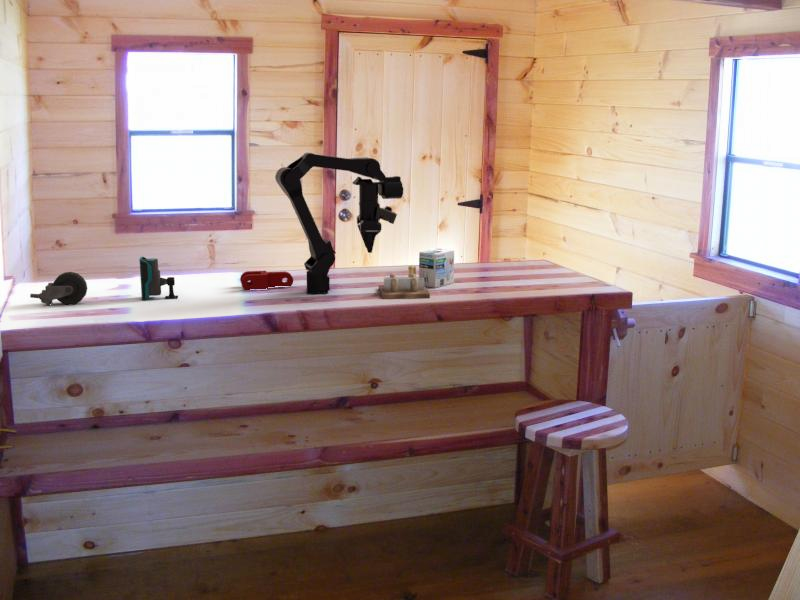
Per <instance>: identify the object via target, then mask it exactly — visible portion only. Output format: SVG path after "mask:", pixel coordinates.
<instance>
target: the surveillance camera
mask: <svg viewBox="0 0 800 600" xmlns="http://www.w3.org/2000/svg"><path fill="white" fill-rule="evenodd" d="M139 272H140V274H139V275H140V290H141V291H140V292H141V301H146V300H147V299H150V297H152V296H153V297H155V296H161V294H162V286H166V285H167V286H168V288H169V289H168V290H169V293H168V295H165V296H164V300H178V298H179V295H175V292H174V286H175V284H176V283H175V282H176V281H175V277H173V276H172V277H171V276H169V277H167V278H164V277H161V271H160V270H159V259H158V258H146V257H145V256H141V257H140V258H139Z"/></svg>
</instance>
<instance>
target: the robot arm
mask: <svg viewBox="0 0 800 600" xmlns="http://www.w3.org/2000/svg"><path fill="white" fill-rule="evenodd" d="M314 167H315V168H320V169H321V168H323V169H330V170H337V171H344V172H345V171H347V172H350V173H353V174H356V175H359V176H357V177H356V178H355V179H354V180H353V181H352V185H354V186H355V185H356V186H358V188H359V191H358V192H359V198H358V201H359V202H358V207H359V209H358V211H359V213H358V215H357V216H356V224H357V228H358V231H359V233H360V236H361V238H362V241H363V243H364V246H365V248H366V250H367V253H369V254H372V253H373V248H374V244H375V239H376V237H377V236H378V234H379V233H381V231H382V223H381V222H380V220H383V221H386V222H388V223H389V224H393V225H394V223H395V221H396V218H397V215H398V214H397V213H396V212H394V211H393V209H392V207H391V206H387V205H386V206H385V207H380V206H381V205H380V203H379V196H380V197H381V199H383V200H389V199H391V200H392V199H393V200H394V199H402V198H403V195H404V185H403V182H402V178H401V176H398V175H394V176H386V175H385V173H384V172H383V171H382V169H381V164H380V162H379V161H378V160H377V159H375V158H372V157H367V156H364V157H353V158H352V157H351V158H350V157H349V158H346V157H338V156H331V155H322V154H316V153H314V152H313V153H312V152H305V153H303V155H302V156H300V157H299V158H297V159H296V160H295V161H293V162H291V163H290V164H289V165H287V166H286V167H285V166H284V167H281V168H279V169H278V170H277V171H276V173H275V176H274V178H275V182H276V183H277V185H278V186H279V188H280V189H281V190H282V192H283V193H284V195H286V197H287V198H288V199H289V202H290V204H291V206H292V208H293V210H294V212H295V214H296V216H297V219H298V221H299V223H300V226H301V228H302V230H303V232H304V234H305V237H306V239H307V241H308V250H309V253H310V256H309V258H308V259H307V260H306V261H305V262H304V268H305V270H306V289H305V290H306V294H309V295H311V294H316V295H317V294H329V291H330V289H331V288H330V284H331V283H330V279H331V278H330V275H329V272H330V269H331V267H332V266H333V265H334V264H335V261H336V256H335V254H336V253H337V252H336V251H335V250H334V249H333V245H332V242H331V241H330V240H329V239H328V238H323V237H322V235H321V233H320V231H319V228H318V226H317V224H316V222H315V219H314V217H313V214H312V212H311V210H310V208H309V207H308V206H309V205H308V204H307V201H306V200H305V197H304V195H303V186H302V181H301V179H302V178H303V177H304V176H306V175H307V173H308V172H309V171H310V170H312V168H314ZM360 176H363V177H365V178H362V177H360ZM366 177H367V178H366ZM372 179H373V180H376V181H373V180H372Z"/></svg>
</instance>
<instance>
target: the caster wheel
mask: <svg viewBox="0 0 800 600" xmlns="http://www.w3.org/2000/svg"><path fill="white" fill-rule="evenodd" d="M44 288H45V289H42V290H41V292H39V293H30V298H33V299H39V300H40V302H41V303H42V304H45V306H46V307H50V306H51V305H52V304H53V301H54V300H57V301H58V302H60V303H61V304H64V305H67V304H72V305H76V304H78V303H80V302H82V301H83V299H84V298H85V296H87V291H88V284H87V281H86V280H85V278H84V276H82V275H81V274H79V273H77V272H73V271H67V272H63V273H61V274H60V275H58V276H57V277H56V278H55V279H54V281H53V282H48V284H47V285H45V287H44ZM51 303H52V304H51ZM50 304H51V305H50Z"/></svg>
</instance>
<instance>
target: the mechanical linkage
mask: <svg viewBox="0 0 800 600" xmlns="http://www.w3.org/2000/svg"><path fill="white" fill-rule="evenodd" d="M239 279H240V280H239V281H240V284H241V287H242V289H243V290H245V291H246V290H250V289H266V288H267V289H268V287H275V286H291V287H292V286H293V283H294V277H293V276H292V274H291V273H290V272H288V271H285V270H283V271H267V270H247V271H244V272H243V273H242V274H241V275H240V277H239ZM284 279H286V281H283V280H284ZM268 290H269V289H268Z"/></svg>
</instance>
